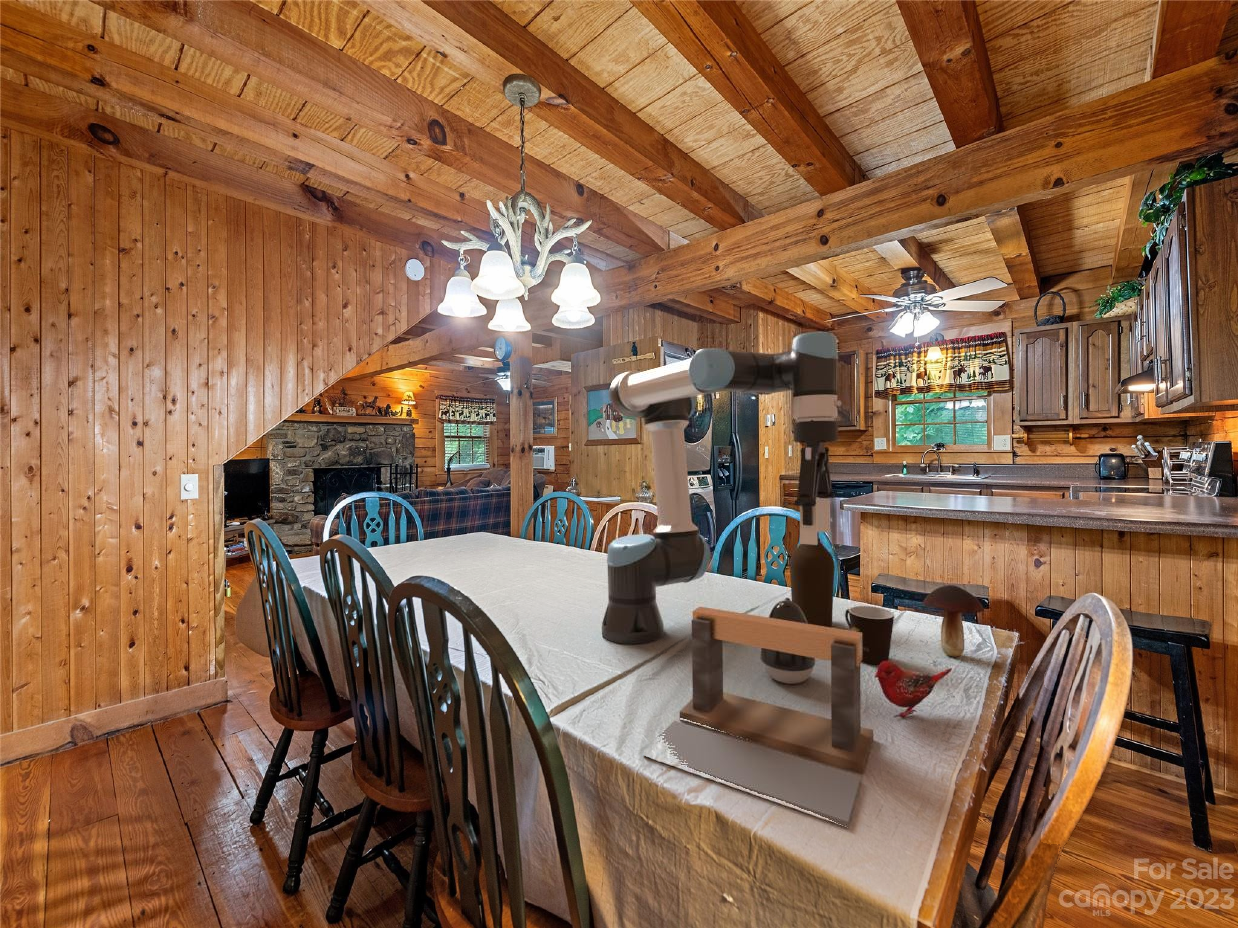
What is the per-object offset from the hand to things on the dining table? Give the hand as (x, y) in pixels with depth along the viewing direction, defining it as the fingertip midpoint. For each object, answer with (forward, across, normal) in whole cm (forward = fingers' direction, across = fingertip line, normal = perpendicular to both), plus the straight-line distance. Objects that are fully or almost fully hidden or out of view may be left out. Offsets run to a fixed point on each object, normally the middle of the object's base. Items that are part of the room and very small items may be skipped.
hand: (816, 537), depth 96 cm
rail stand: (+28, -17, +4) cm, 33 cm away
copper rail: (+15, -17, +4) cm, 23 cm away
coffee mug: (+29, +22, -7) cm, 37 cm away
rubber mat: (+28, -29, +4) cm, 41 cm away
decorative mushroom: (+29, +30, -22) cm, 47 cm away
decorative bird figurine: (+29, -1, -16) cm, 33 cm away
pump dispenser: (+29, +3, +6) cm, 29 cm away
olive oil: (+29, +38, +8) cm, 48 cm away
